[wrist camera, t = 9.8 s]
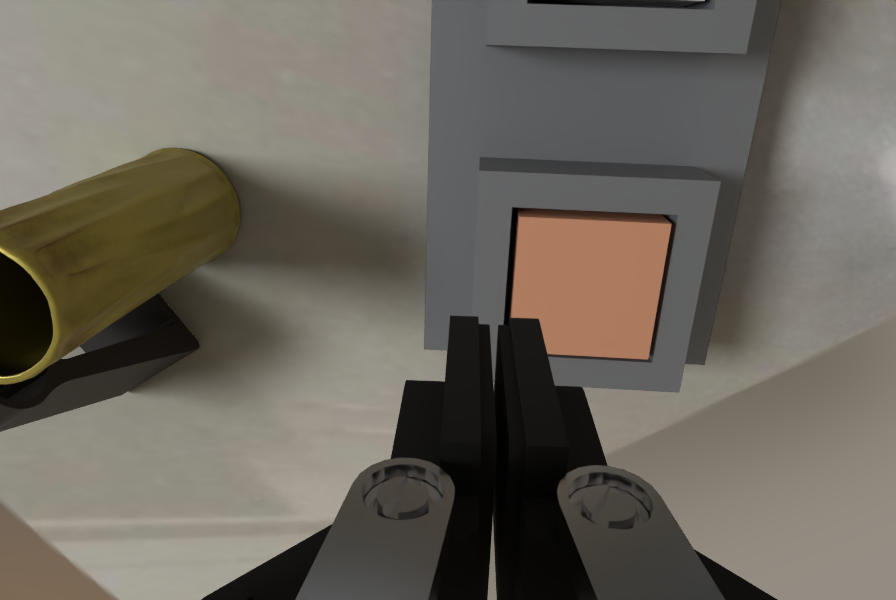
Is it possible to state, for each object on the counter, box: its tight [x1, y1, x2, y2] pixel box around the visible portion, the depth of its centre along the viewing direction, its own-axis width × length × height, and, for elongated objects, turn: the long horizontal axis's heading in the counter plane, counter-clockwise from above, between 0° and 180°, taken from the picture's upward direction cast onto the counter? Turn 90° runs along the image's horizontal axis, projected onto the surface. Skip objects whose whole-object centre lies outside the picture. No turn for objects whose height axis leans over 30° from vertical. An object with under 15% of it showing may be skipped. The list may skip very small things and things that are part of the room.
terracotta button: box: [507, 207, 672, 360], centre depth 27 cm, size 6×6×3 cm
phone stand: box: [0, 293, 199, 431], centre depth 29 cm, size 9×6×12 cm, turn 31°
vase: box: [0, 148, 240, 384], centre depth 26 cm, size 6×6×14 cm
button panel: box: [424, 0, 781, 392], centre depth 26 cm, size 24×14×6 cm, turn 178°
